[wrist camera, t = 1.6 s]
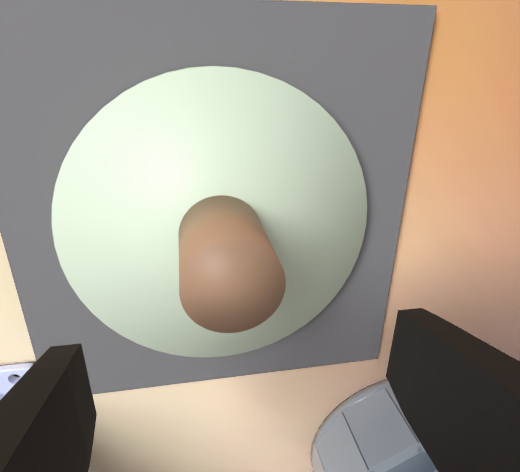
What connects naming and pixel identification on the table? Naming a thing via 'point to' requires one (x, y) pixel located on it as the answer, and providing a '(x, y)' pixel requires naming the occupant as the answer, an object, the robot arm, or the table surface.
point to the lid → (209, 211)
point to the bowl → (369, 436)
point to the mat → (194, 55)
